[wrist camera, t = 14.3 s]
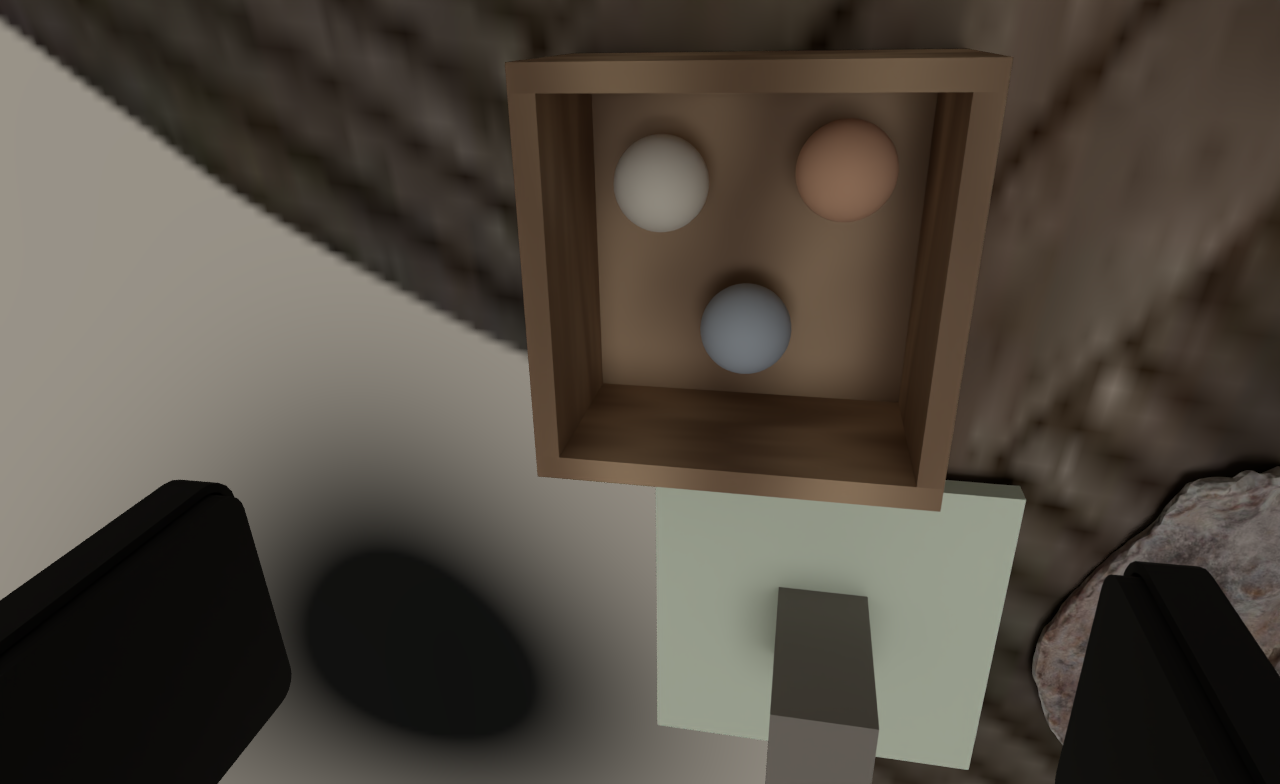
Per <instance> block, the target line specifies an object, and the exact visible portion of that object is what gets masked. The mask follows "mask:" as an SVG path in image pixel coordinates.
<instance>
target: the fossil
mask: <svg viewBox="0 0 1280 784" xmlns="http://www.w3.org/2000/svg"><path fill="white" fill-rule="evenodd" d="M1134 561H1141V562H1153V563H1165V564H1177V565H1188V566H1199V567H1202V568H1205V569H1206V570H1207V571H1208V572H1209V573H1210V574H1211V575H1212V576H1213V578H1214V579H1215V581H1216V582H1217V584H1218V585H1219V587H1220V588H1221V589H1222V591H1223V592H1224V594H1225V595H1226V597H1227V598H1228V600H1229V601H1230V603H1231V604H1232V606H1233V607H1234V609H1235V610H1236V612H1237V613H1238V615H1239V616H1240V618H1241V619H1242V621H1243V622H1244V624H1245V625H1246V627H1247V628H1248V630H1249V631H1250V633H1251V634H1252V636H1253V637H1254V639H1255V640H1256V642H1257V643H1258V645H1259V646H1260V648H1261V649H1262V650H1263V652H1264V653H1265V655H1266V656H1267V658H1268V659H1269V661H1270V662H1271V664H1272V665H1273V667H1274V668H1275V670H1276V671H1277V673H1278V674H1279V676H1280V467H1279V466H1277V467H1275V468H1272V469H1270V470H1267V471H1265V472H1263V473H1260V474H1259V473H1257V472H1254V471H1251V470H1246V471H1243V472H1241V473H1239V474H1238V475H1236V476H1235V477H1233V478H1231V477H1208V478H1202V479H1198V480H1196V481H1194V482H1190V483H1187V484H1186V485H1185V486H1184V488H1183V489H1182V490H1181V491H1180V492H1179V493H1178V494H1177V495H1176V496H1175V497H1174V498H1173V499H1172V500H1171V501H1170V502H1169V503H1168V504H1167V505H1166V506H1165V507H1164V509H1163V511H1162V512H1161V514H1160V515H1159V517H1158V518H1157V519H1156V520H1155V521H1154V522H1153V523H1152V524H1151V525H1150V526H1148V527H1147V528H1146V529H1145V530H1143V531H1142V532H1141V533H1139V534H1138V535H1136V536H1135V537H1133V538H1132V539H1130V540H1129V541H1127V542H1126V543H1125V544H1124V545H1123V546H1122V547H1121V548H1120V549H1118V550H1117V551H1115V552H1113V553H1112V554H1111V555H1110V556H1109V557H1108V558H1107V559H1106V560H1105V561H1104V562H1103V563H1102V564H1100V565H1099V566H1098V567H1097V568H1096V569H1095V570H1094V571H1093V573H1092V574H1090V575H1089V576H1088V577H1087V578H1086V579H1085V580H1084V581H1083V583H1082V584H1081V585H1080V587H1078V588H1077V589H1075V590H1074V591H1073V592H1072V593H1071V595H1070V596H1069V597H1068V598H1067V599H1066V600H1065V601H1064V602H1063V604H1062V605H1061V606H1060V608H1059V610H1058V612H1057V613H1056V615H1055V616H1054V617H1053V619H1052V621H1051V622H1049V623H1048V624H1047V625H1046V626H1045V627H1044V628H1043V630H1042V633H1041V635H1040V637H1039V639H1038V642H1037V646H1036V650H1035V653H1034V656H1033V664H1032V675H1033V678H1034V680H1035V682H1036V684H1037V687H1038V692H1039V696H1040V700H1041V704H1042V709H1043V712H1044V715H1045V717H1046V720H1047V723H1048V725H1049V726H1050V729H1051V731H1052V732H1053V733H1054V734H1055V735H1056V737H1057V738H1058V740H1059V741H1060V742H1061V743H1062V745H1063V743H1064V739H1065V735H1066V731H1067V727H1068V723H1069V719H1070V715H1071V710H1072V706H1073V702H1074V698H1075V694H1076V690H1077V686H1078V682H1079V678H1080V673H1081V669H1082V665H1083V661H1084V657H1085V653H1086V649H1087V645H1088V641H1089V637H1090V632H1091V628H1092V624H1093V620H1094V616H1095V612H1096V608H1097V604H1098V600H1099V595H1100V591H1101V587H1102V584H1103V582H1104V580H1105V578H1106V577H1107V576H1108V575H1111V574H1112V575H1123V574H1124V572H1125V569H1126V568H1127V566H1128V565H1129V564H1130V563H1132V562H1134Z"/></svg>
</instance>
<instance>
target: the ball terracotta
mask: <svg viewBox="0 0 1280 784" xmlns="http://www.w3.org/2000/svg"><path fill="white" fill-rule="evenodd" d="M898 174H899V162H898V156H897V151H896V149H895V146H894V144H893V142H892V141H891V139H890V138H889V137H888V135H887V134H886V133H885V132H884V131H883V130H882V129H880V128H879V127H878V126H876V125H874V124H872V123H870V122H868V121H865V120H861V119H853V118H848V119H840V120H836V121H833V122H830V123H828V124H826V125H824V126H822V127H821V128H819V129H818V130H817V131H815V132H814V133H813V134H812V135H811V136H810V137H809V138H808V140H807V141H806V143H805V144H804V145H803V147H802V149H801V151H800V153H799V156H798V159H797V163H796V170H795V177H796V184H797V188H798V191H799V193H800V196H801V198H802V199H803V201H804V203H805V204H806V205H807V206H808V207H809V208H810V209H811V210H812V211H813V212H814V213H816V214H817V215H819V216H821V217H823V218H825V219H828V220H831V221H835V222H852V221H857V220H861V219H863V218H866V217H868V216H870V215H871V214H873V213H875V212H876V211H877V210H878V209H880V208H881V207H882V206H883V205H884V204H885V203H886V201H887V200H888V199H889V197H890V196H891V194H892V192H893V190H894V188H895V186H896V183H897V179H898Z"/></svg>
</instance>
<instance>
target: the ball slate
mask: <svg viewBox="0 0 1280 784" xmlns="http://www.w3.org/2000/svg"><path fill="white" fill-rule="evenodd" d="M700 332H701V339H702V343H703V346H704V348H705V350H706V352H707V353H708V355H709V356H710V357H711V358H712V360H713V361H714V362H715V363H717V364H718V365H719V366H721V367H722V368H724V369H726V370H728V371H731V372H734V373H740V374H751V373H757V372H760V371H763V370H765V369H767V368H769V367H771V366H772V365H773V364H775V363H776V362H777V361H778V360H779V359H780V358H781V356H782V355H783V354H784V352H785V351H786V349H787V347H788V344H789V341H790V337H791V319H790V315H789V312H788V310H787V308H786V306H785V304H784V303H783V301H782V300H781V299H780V298H779V297H778V296H777V295H776V294H775V293H774V292H772V291H771V290H769V289H767V288H766V287H763V286H760V285H757V284H750V283H742V284H736V285H732V286H730V287H727V288H725V289H724V290H722V291H720V292H719V293H718V294H716V295H715V296H714V297H713V298H712V299H711V301H710V302H709V303H708V305H707V306H706V308H705V310H704V313H703V315H702V319H701V326H700Z"/></svg>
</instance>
